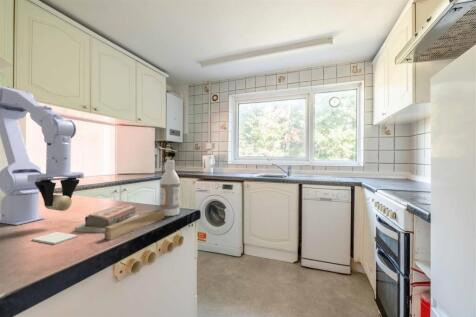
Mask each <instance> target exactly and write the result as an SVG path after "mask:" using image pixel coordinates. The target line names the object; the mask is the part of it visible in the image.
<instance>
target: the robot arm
mask: <svg viewBox="0 0 476 317" xmlns="http://www.w3.org/2000/svg"><path fill="white" fill-rule="evenodd" d="M28 113H29V116H30V119H31V120H32V121H33V122H34V123H36V124H37V125H38V126H39V127H40V128H41V132H42V135H43V136H44V137H43V138H44V139H43V141H44V143H45V144H46V150H45V151H46V157H45V164H46V165H45V173H43V171H42V168H41V167H40V166H39V165H38V164H36V163H33V162H32V161H31V160H30V157H29V153H28V149H27V147H26V144H25V140H24V137H23V134H22V130H21V126H20V123H19V120H20V119H24V118H25V117H26V115H27V114H28ZM76 132H77V126H76V124H75V122H74V121H73V120H72V119H64V118H63V117H62V116H61V115H60V114H58V113H57V112H56V111H54V110H53V108H52V107H51V106H49V105H41V104H39V103H38V102H37V101H36V100H35V97H34V94H32V93H31V92H29V91H28V90H27V91H25V90H20V89H16V88H11V87H8V86H4V85H0V139H1V143H2V147H3V151H4V153H5V157H6V161H7V166H5V167H4V168H2V169H1V170H0V190H1V191H2V193H4V196H3V197H2V199H1V201H0V223H2V224H6V225H15V226H16V225H17V226H18V225H23V224H27V223H32V222H36V221H41V220H44V219H46V217H45V216H40V215H39V210H40V209H39V207H40V204H39V202H40V200H39V198H40V197H39V196H40V195H41V198H42V200H43V204H44V203H45V205H44V207H45V206H52V205H53V195H54V192H55V188H56V185H57V182H53V181H60V185H61V190H62V191H61V192H62V196H68V197H70V198H71V199H72V196H73V193H74V191H75V190H76V188H77V186H78V185H79V184H80V179H84V178H85V177H84V175H85V173H84V172H83V171H78V172H77V171H75V172H71V158H72V157H71V155H72V148H71V147H72V139H73V137H75V136H76ZM39 194H40V195H39Z"/></svg>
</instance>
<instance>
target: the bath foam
mask: <svg viewBox="0 0 476 317" xmlns="http://www.w3.org/2000/svg"><path fill="white" fill-rule="evenodd" d="M165 166H166V168H165V171H164V173H163V174H162V176H161V178H160V183H159V209H163V210H164V217H174V216H177V215H179V214H180V199H181V198H180V197H181V196H180V194H181V190H180V188H181V186H180V185H181V183H180V178H179V175H178V174H177V172H176V170H175V160H174V159H173V160H170V159H169V160H167V159H166V164H165Z"/></svg>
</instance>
